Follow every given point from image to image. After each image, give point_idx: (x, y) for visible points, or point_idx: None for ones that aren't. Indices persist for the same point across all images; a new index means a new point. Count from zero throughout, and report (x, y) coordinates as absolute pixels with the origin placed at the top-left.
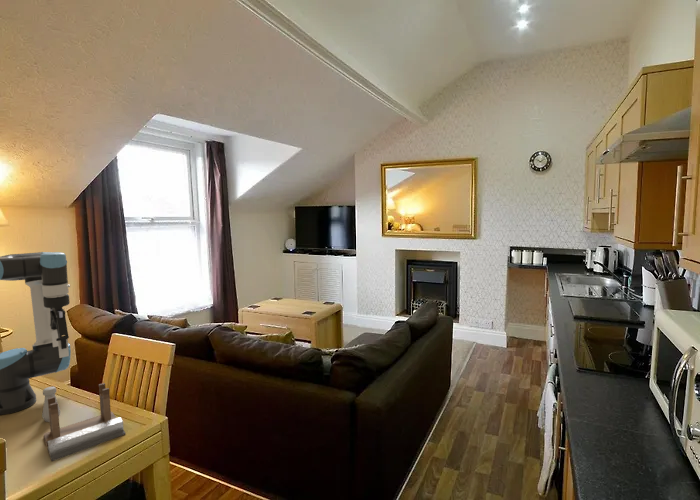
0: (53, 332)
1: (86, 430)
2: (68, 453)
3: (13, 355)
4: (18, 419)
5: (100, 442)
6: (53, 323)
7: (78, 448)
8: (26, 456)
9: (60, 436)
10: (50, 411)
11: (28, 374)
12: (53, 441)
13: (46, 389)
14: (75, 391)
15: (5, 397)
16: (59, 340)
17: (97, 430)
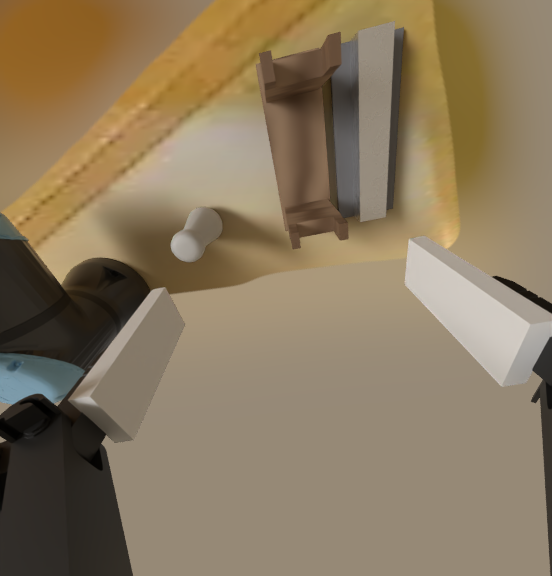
0: (137, 412)
1: (372, 141)
2: (394, 179)
3: (34, 379)
4: (181, 276)
5: (398, 107)
6: (124, 556)
7: (390, 159)
8: (340, 247)
9: (320, 199)
10: (319, 233)
11: (72, 306)
12: (371, 211)
13: (193, 255)
14: (55, 177)
15: (128, 315)
16: (524, 372)
17: (389, 111)
